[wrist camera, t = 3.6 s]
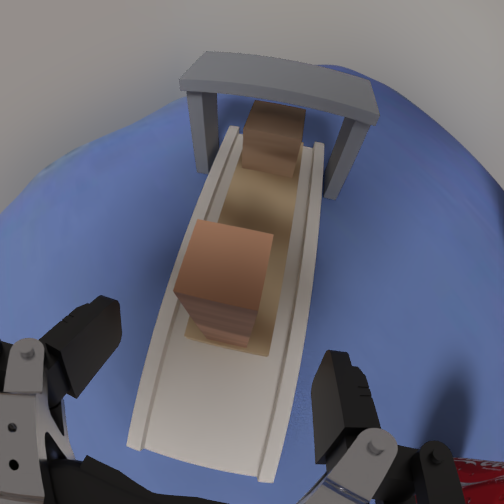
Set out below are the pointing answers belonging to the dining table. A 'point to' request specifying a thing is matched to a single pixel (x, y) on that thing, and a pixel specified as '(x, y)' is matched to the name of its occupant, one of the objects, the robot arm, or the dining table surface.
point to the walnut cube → (272, 138)
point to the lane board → (293, 287)
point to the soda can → (481, 480)
